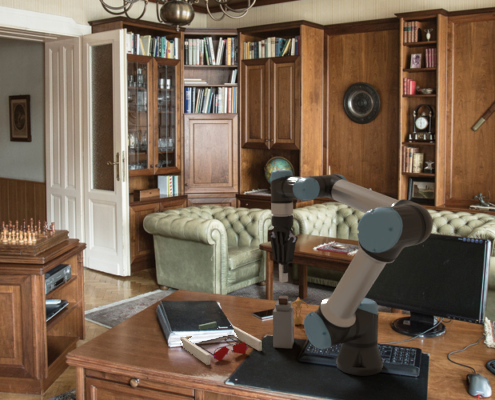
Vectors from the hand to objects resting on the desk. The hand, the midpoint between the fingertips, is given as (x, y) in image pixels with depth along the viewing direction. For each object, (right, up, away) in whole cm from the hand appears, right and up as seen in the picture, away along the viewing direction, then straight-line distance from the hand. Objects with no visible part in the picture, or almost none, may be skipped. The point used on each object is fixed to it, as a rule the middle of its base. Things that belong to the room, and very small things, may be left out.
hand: (283, 281), depth 194 cm
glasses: (-22, -26, +6) cm, 35 cm away
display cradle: (-22, -25, +8) cm, 35 cm away
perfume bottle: (+1, -25, +11) cm, 27 cm away
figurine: (+8, -22, +31) cm, 39 cm away
